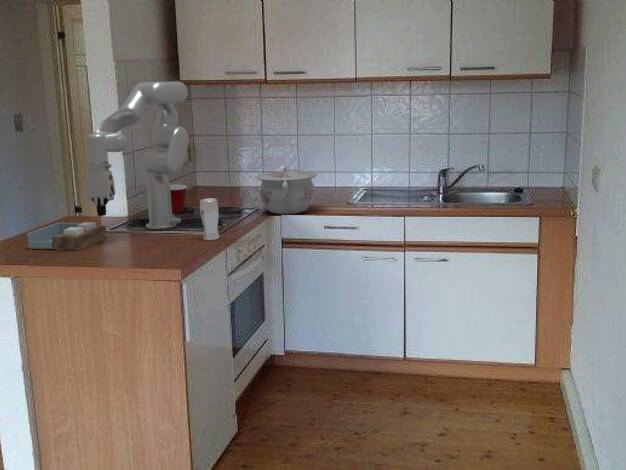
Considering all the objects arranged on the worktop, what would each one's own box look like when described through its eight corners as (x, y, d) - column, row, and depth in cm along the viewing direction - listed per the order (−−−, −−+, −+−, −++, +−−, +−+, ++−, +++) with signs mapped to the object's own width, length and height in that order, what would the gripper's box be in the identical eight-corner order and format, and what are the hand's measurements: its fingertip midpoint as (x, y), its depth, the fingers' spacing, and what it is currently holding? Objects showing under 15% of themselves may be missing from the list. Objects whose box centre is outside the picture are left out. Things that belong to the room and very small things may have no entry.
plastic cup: (171, 214, 317) (169, 188, 314) (161, 211, 325) (159, 186, 322) (193, 211, 323) (191, 185, 320) (182, 208, 331) (180, 183, 329)
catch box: (82, 237, 274) (81, 223, 273) (52, 250, 255) (50, 234, 254) (60, 237, 276) (58, 222, 275) (28, 249, 258) (26, 233, 256)
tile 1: (96, 227, 268) (96, 222, 268) (89, 230, 263) (89, 225, 263) (85, 227, 269) (84, 222, 269) (77, 230, 265) (77, 224, 264)
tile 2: (83, 232, 260) (83, 227, 259) (76, 235, 255) (75, 230, 254) (71, 232, 261) (71, 227, 260) (64, 235, 256) (63, 229, 256)
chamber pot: (285, 204, 332) (283, 161, 328) (330, 209, 315) (329, 164, 310) (243, 214, 311) (241, 168, 307) (289, 220, 294) (288, 172, 289)
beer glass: (211, 235, 270) (209, 197, 267) (224, 237, 266) (221, 199, 263) (198, 239, 265) (195, 200, 262) (210, 241, 261) (208, 201, 258)
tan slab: (106, 238, 271) (105, 226, 270) (77, 250, 253) (76, 237, 251) (83, 237, 274) (82, 225, 273) (53, 250, 255) (52, 236, 254)
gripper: (121, 166, 261) (124, 214, 264) (85, 166, 264) (89, 213, 268) (111, 168, 254) (114, 217, 257) (74, 168, 257) (78, 216, 261)
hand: (101, 215), depth 263 cm, fingers closed
